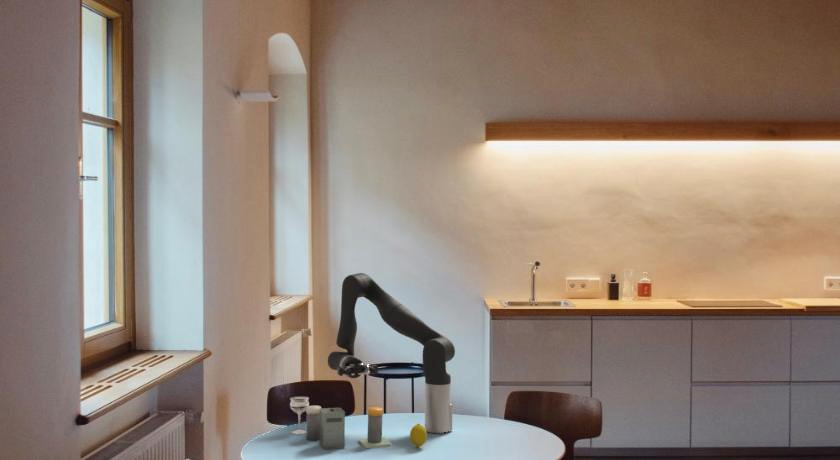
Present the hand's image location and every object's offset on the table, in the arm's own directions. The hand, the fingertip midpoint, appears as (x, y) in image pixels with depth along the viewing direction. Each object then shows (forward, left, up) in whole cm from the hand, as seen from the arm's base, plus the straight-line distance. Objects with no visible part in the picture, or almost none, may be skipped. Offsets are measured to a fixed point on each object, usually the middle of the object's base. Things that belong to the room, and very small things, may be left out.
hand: (362, 372), depth 276 cm
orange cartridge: (-1, +14, -21) cm, 25 cm away
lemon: (-13, +23, -22) cm, 34 cm away
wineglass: (+21, -9, -22) cm, 31 cm away
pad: (-1, +14, -22) cm, 26 cm away
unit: (+14, +13, -22) cm, 29 cm away
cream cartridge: (+18, +2, -22) cm, 28 cm away
